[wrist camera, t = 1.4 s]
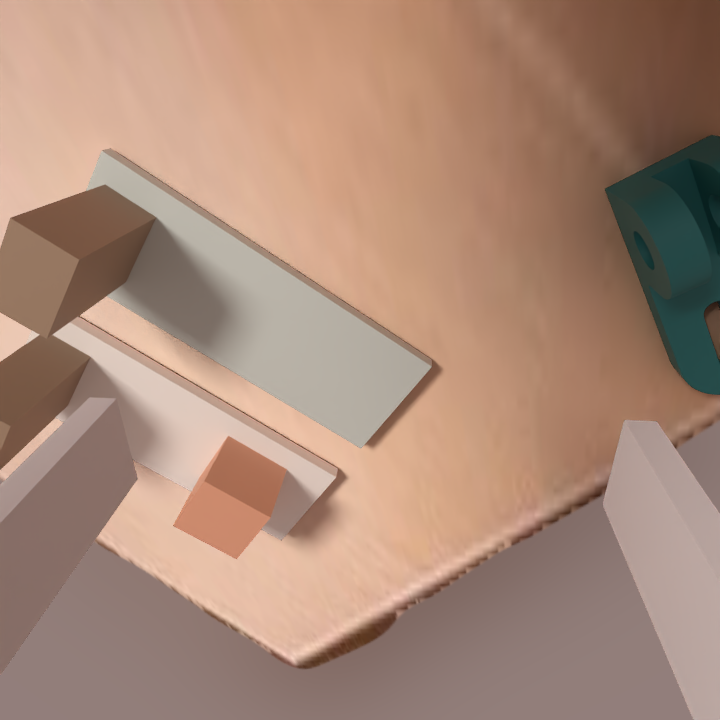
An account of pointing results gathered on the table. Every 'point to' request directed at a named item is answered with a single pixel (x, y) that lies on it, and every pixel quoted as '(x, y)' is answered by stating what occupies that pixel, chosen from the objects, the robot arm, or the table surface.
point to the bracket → (677, 251)
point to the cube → (232, 498)
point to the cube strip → (145, 414)
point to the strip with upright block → (204, 296)
